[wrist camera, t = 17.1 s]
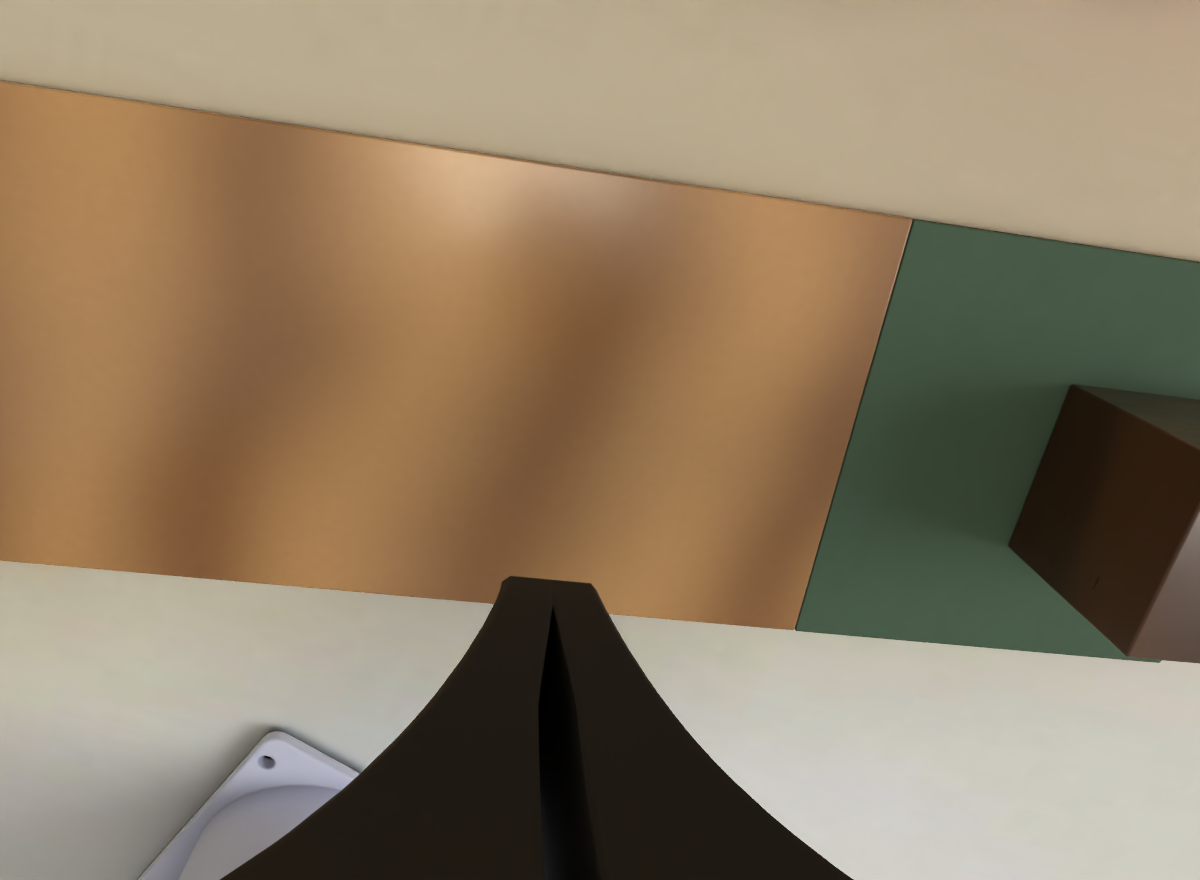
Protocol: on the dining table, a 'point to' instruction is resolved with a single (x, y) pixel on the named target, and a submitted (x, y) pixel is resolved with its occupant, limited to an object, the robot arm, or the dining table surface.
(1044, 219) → the dining table surface
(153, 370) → the board
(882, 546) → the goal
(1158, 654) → the cube
